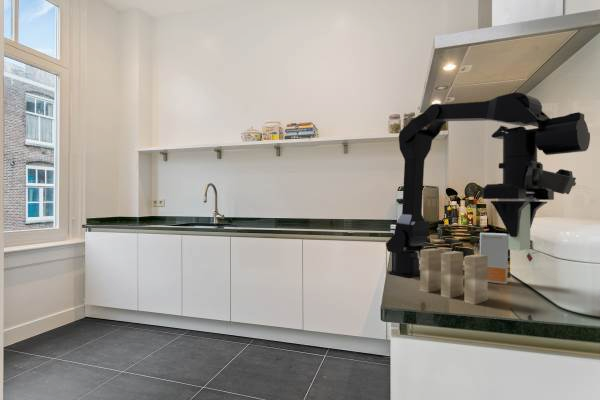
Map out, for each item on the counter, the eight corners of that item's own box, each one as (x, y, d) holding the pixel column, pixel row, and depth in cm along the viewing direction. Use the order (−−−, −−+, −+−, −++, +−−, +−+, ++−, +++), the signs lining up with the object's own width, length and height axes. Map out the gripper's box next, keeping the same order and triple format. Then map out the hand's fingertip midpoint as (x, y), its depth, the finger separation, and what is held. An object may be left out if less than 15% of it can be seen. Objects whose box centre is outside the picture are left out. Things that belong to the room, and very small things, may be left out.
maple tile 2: (440, 295, 69) (441, 253, 69) (453, 292, 72) (454, 251, 72) (450, 298, 67) (450, 254, 67) (462, 294, 70) (463, 252, 70)
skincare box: (479, 281, 82) (479, 233, 82) (479, 278, 86) (479, 232, 86) (508, 284, 79) (508, 234, 79) (506, 281, 83) (507, 233, 83)
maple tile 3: (464, 301, 65) (464, 256, 65) (477, 297, 68) (477, 254, 68) (474, 304, 63) (474, 257, 63) (487, 300, 66) (487, 255, 66)
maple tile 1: (420, 290, 73) (420, 250, 73) (433, 287, 76) (433, 248, 76) (428, 292, 71) (428, 251, 72) (441, 289, 74) (441, 249, 74)
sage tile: (530, 248, 66) (530, 203, 66) (519, 250, 63) (519, 203, 63) (518, 247, 68) (519, 203, 68) (508, 249, 65) (508, 203, 65)
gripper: (551, 147, 54) (551, 243, 53) (585, 157, 65) (585, 237, 64) (480, 155, 63) (480, 237, 62) (521, 163, 74) (521, 232, 73)
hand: (519, 236), depth 65 cm, fingers closed on sage tile, 5 cm apart
